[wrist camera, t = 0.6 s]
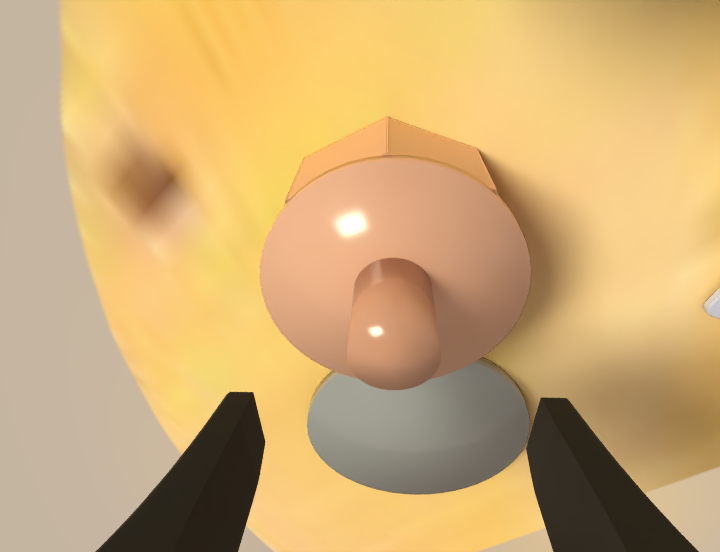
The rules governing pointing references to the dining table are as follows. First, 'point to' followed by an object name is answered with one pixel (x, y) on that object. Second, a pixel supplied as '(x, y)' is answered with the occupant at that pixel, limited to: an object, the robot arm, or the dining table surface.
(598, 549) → the robot arm
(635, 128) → the dining table surface
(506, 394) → the slate plate
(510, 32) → the dining table surface
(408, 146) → the lid with knob
